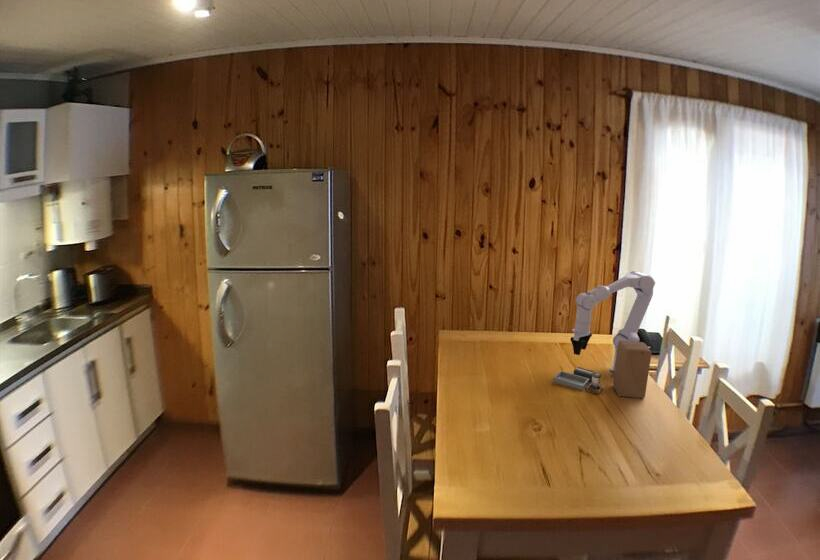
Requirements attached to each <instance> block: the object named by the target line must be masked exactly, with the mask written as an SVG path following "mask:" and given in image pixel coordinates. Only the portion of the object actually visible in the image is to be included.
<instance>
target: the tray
mask: <svg viewBox="0 0 820 560" xmlns="http://www.w3.org/2000/svg"><path fill="white" fill-rule="evenodd" d="M552 382H553V384H557V385H561V386H563V387H567V388H571V389H573V390H577V391H581V392H583V391H584V390H586V387H587V386H588V385H589V384H590V382H589V378H585V377H582V376H578V375H574V374H573V373H570V372H568V371H564V370H559V372H558V373H557V374H556V375H554V377H553V380H552Z"/></svg>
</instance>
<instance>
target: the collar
mask: <svg viewBox="0 0 820 560" xmlns="http://www.w3.org/2000/svg"><path fill="white" fill-rule="evenodd" d="M603 389H604V386H602V385H599V388H598V390H596V389H593V388H591V383H590V382H589V384H588V385H587V387H586V388H585V391H586V392H589V393H592V394H596V395H600V394H601V393H602V391H603Z"/></svg>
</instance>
